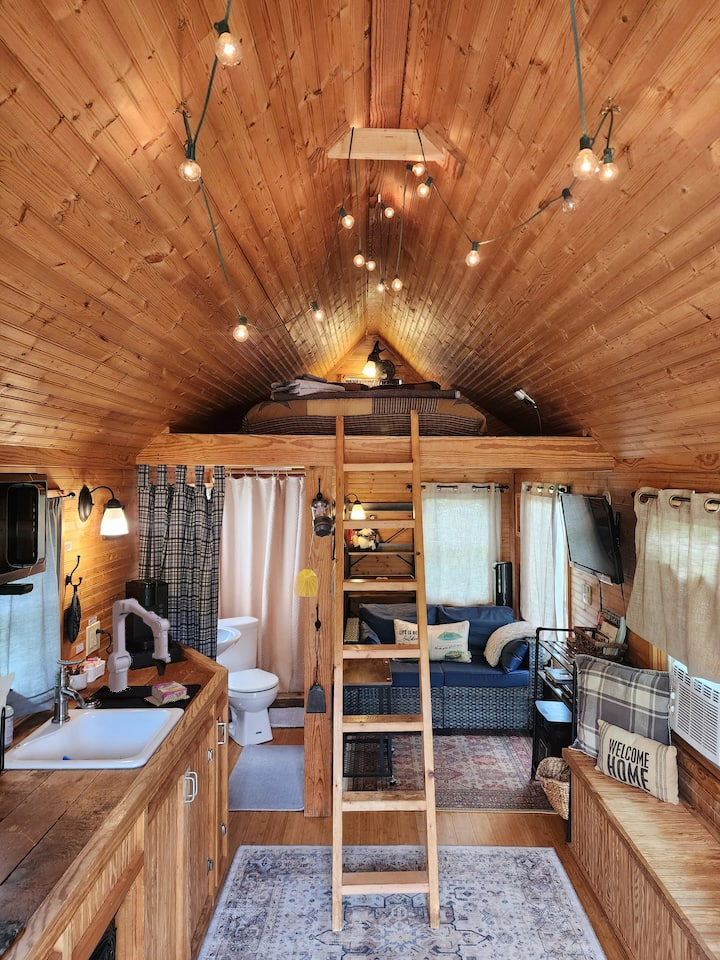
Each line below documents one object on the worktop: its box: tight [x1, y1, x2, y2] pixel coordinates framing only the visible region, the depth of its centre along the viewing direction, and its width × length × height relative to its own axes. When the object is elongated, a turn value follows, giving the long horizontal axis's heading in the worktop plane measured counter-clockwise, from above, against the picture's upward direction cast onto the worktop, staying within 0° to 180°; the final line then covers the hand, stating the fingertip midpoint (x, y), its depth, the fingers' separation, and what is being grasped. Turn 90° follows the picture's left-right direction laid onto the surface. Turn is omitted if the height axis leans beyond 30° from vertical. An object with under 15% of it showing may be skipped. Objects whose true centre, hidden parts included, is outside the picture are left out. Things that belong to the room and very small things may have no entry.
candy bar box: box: [151, 680, 188, 704], centre depth 262 cm, size 11×5×16 cm
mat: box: [143, 695, 190, 707], centre depth 262 cm, size 14×15×1 cm
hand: (161, 675), depth 266 cm, fingers closed
